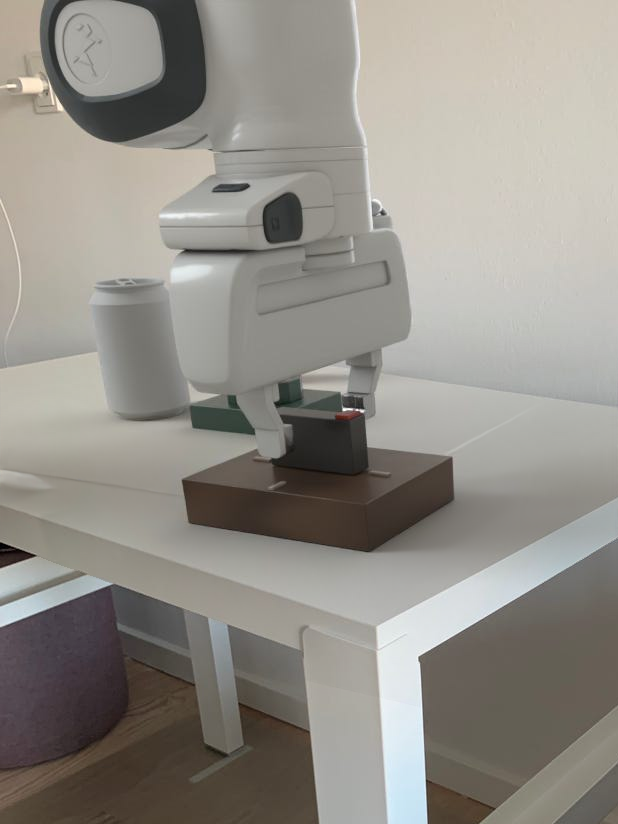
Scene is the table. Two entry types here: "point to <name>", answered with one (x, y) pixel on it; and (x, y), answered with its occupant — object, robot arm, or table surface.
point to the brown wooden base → (321, 497)
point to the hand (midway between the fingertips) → (321, 436)
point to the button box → (230, 418)
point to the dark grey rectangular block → (326, 440)
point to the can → (138, 348)
